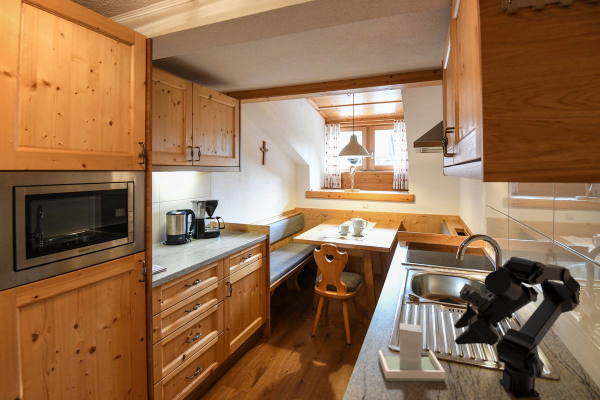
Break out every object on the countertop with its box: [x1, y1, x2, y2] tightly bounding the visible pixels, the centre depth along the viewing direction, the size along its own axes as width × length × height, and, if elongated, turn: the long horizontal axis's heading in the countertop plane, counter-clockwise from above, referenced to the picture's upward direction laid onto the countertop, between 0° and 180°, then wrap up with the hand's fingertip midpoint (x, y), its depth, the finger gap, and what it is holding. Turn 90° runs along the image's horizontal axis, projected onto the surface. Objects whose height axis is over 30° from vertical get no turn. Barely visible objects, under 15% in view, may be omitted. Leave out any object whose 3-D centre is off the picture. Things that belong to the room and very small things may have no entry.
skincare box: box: [399, 322, 423, 370], centre depth 92 cm, size 6×4×12 cm
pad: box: [378, 350, 446, 382], centre depth 92 cm, size 16×10×3 cm, turn 88°
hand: (455, 334), depth 85 cm, fingers open, 9 cm apart
